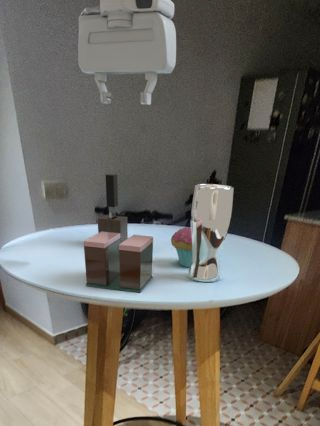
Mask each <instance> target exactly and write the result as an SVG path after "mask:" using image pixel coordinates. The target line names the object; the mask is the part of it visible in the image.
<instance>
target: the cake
mask: <svg viewBox="0 0 320 426" xmlns="http://www.w3.org/2000/svg"><path fill="white" fill-rule="evenodd" d="M83 249H84V250H83V254H84V265H85V267H84V268H85V278H86V283H85V286H86V287H91V288H98V289H99V288H100V289H106V290H115V291H123V292H132V293H139V294H140V293H142V292H143V290H145V288H146V287H147V286H148V284H149V283H150V282H151V281H152V279H154V277H153V254H154V253H153V252H154V250H153V249H154V236H151V235H140V234H132V235H131V236H128V239H127V240H125V241H124V242H122V243H121V241H120V233H112V232H100V233H98V232H97V233H96V234H94V235H92V236H89V238H86V239H84V240H83Z"/></svg>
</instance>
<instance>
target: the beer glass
mask: <svg viewBox="0 0 320 426" xmlns="http://www.w3.org/2000/svg"><path fill="white" fill-rule="evenodd" d="M234 189H235V187H234V186H232V185H226V184H215V183H196V184H195V185H194V191H193V197H192V202H191V210H190V227H191V240H192V260H191V265H190V267H189V269H188V273H187V277H188V278H189V279H190V280H192V281H195V282H200V283H215V282H218V281H219V280H220V278H221V257H222V253H223V249H224V247H225V242H226V239H227V237H228V233H229V229H230V225H231V219H232V213H233V202H234Z"/></svg>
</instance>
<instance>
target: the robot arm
mask: <svg viewBox="0 0 320 426" xmlns="http://www.w3.org/2000/svg"><path fill="white" fill-rule="evenodd" d="M174 16H175V3H174V2H173V1H172V0H99V5H96V6H86V7H84V8H83V11H81V13H80V15H79V16H78V37H77V38H78V40H77V59H78V60H77V63H78V66H79V69H80V71H81V72H82V73H84V74H87V75H94V82H95V84H96V86H97V89H98V91H99V96H100V103H101V104H102V105H103V104H104V105H111V104H112V92H109V91H108V88H107V86H106V82H107V80H108V79H107V75H145V77H144V78H145V81H147V82H146V85H145V87H144V90H143V91H140V95H139V97H140V99H139V102H140V104H141V105H145V106H150V105H151V104H152V94H153V92H154V89H155V87H156V85H157V82H158V75H160V74H161V75H162V74H165V75H167V74H172V72H173V71H174V69H175V67H176V64H177V63H176V62H177V31H176V27H175V26H176V25H175V23H174V22H173V21H172V19H173V18H174Z"/></svg>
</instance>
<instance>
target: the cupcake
mask: <svg viewBox="0 0 320 426" xmlns="http://www.w3.org/2000/svg"><path fill="white" fill-rule="evenodd" d="M170 243H171V246H172V247H173V248H175V250H176V254H177V258H178V263H179V265H180V266H182V267H185V268H190V265H191V260H192V240H191V226H184V227H182V228H179V229H177V230H176V231H175V232H174V233H173V234H172V235H171V238H170Z"/></svg>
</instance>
